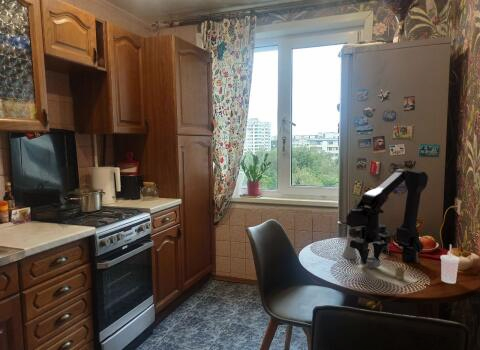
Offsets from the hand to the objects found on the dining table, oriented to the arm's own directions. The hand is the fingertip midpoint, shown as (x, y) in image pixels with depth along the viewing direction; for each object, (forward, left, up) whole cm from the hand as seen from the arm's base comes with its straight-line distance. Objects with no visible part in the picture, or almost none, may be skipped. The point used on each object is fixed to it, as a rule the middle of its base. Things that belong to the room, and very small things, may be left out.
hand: (369, 262), depth 136 cm
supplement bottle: (-26, -13, -4) cm, 30 cm away
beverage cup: (-16, +23, -4) cm, 28 cm away
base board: (0, +7, -3) cm, 7 cm away
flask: (-4, -13, -4) cm, 15 cm away
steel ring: (0, 0, -1) cm, 1 cm away
